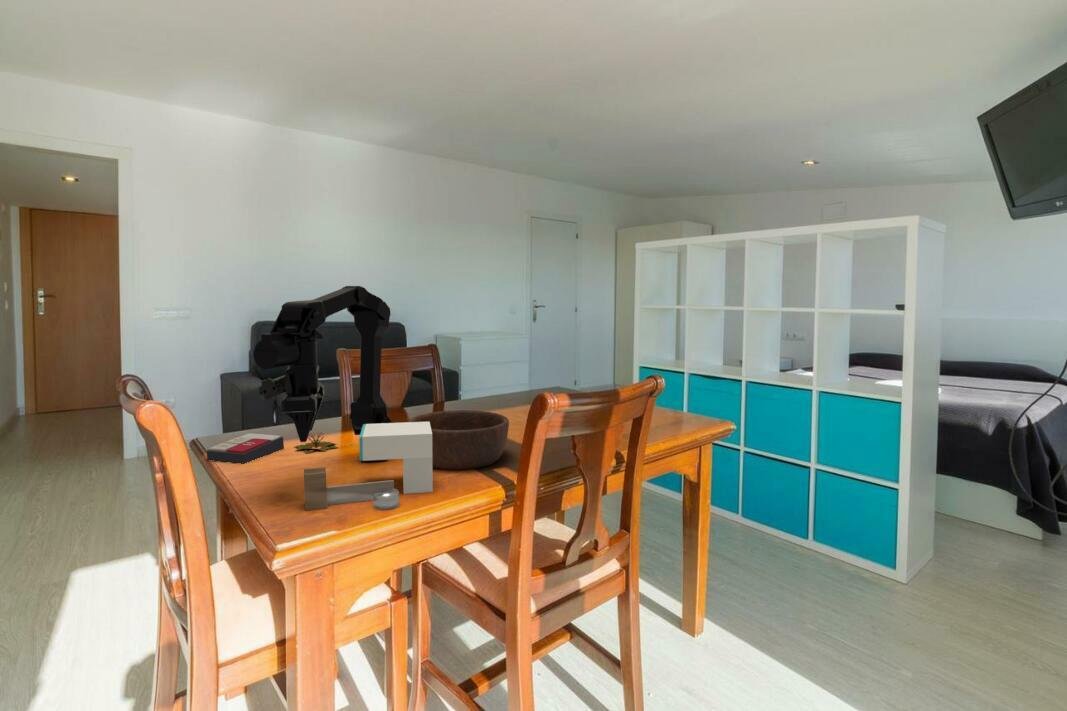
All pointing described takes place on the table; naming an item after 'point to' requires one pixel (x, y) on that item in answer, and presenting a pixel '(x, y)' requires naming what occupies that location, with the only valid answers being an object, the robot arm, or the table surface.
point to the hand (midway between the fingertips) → (306, 436)
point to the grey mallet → (336, 490)
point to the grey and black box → (245, 448)
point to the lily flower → (315, 444)
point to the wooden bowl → (465, 438)
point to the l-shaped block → (402, 450)
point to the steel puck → (386, 499)
